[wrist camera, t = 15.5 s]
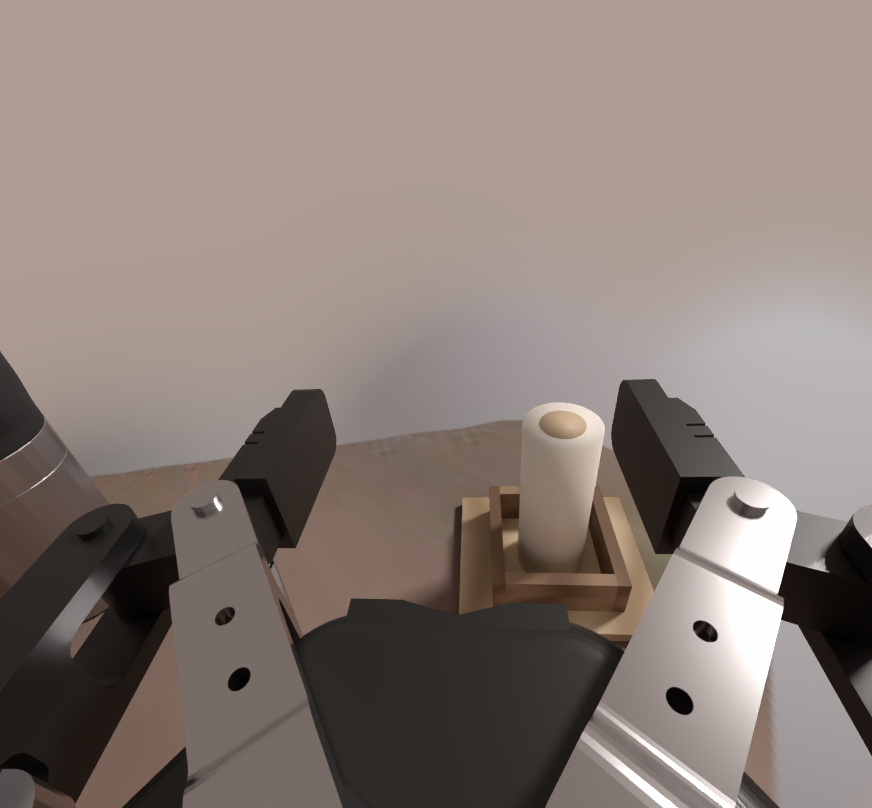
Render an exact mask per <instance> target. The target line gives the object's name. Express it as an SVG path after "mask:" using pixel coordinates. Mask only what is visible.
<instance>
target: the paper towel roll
mask: <svg viewBox="0 0 872 808" xmlns="http://www.w3.org/2000/svg"><path fill="white" fill-rule="evenodd" d="M604 432H605V428H604V424H603V422H602V420H601V419H600V418H599V417H598V416H597V415H596V414H595V413H594V412H592V411H590V410H588V409H586V408H584V407H582V406H578V405H575V404H570V403H547V404H542V405H539V406H537V407H534V408H533V409H531V410H530V411H529V412H528V413H527V414H526V415H525V416H524V418H523V422H522V450H521V477H520V504H519V532H518V560H519V563H520V565H521V567H522V568H523V570H524V571H525V572H526V573H579V571H580V568H581V563H582V558H583V552H584V546H585V541H586V535H587V529H588V523H589V518H590V512H591V506H592V501H593V495H594V489H595V484H596V478H597V472H598V466H599V461H600V455H601V449H602V444H603V438H604Z"/></svg>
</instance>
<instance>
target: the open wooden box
mask: <svg viewBox="0 0 872 808" xmlns="http://www.w3.org/2000/svg"><path fill="white" fill-rule="evenodd" d="M519 504H520V486H489V498H463V507H462V537H461V566H460V596H459V614H464V613H468V612H472V611H477V610H481V609H485V608H490V607H494V606H498V605H503V604H507V603H546V604H566V607H567V612H568V618H569V622H571V623H575V624H578V625H580V626H583V627H585V628H588V629H590V630H593V631H594V632H596V633H598V634H600V635H602V636H604V637H605V638H607V639H609V640H610V641H629V642H630V640H631V638H632V636H633V634H634V632H635V630H636V628H637V626H638V624H639V622H640V620H641V618H642V616H643V614H644V612H645V610H646V608H647V606H648V604H649V602H650V600H651V598H652V596H653V594H654V591H653V588H652V585H651V583H650V580H649V577H648V575H647V572H646V569H645V567H644V564H643V561H642V558H641V556H640V553H639V550H638V548H637V545H636V542H635V540H634V537H633V534H632V532H631V529H630V526H629V523H628V521H627V518H626V515H625V513H624V510H623V507H622V505H621V502H620V499H619V497H603V496H602V493H601V490H600V487H599V486H595V489H594V495H593V501H592V506H591V512H590V518H589V523H588V529H587V535H586V541H585V546H584V552H583V558H582V563H581V568H580V571H579V573H526V572H525V571H524V570H523V568H522V567H521V565H520V563H519V560H518V532H519Z"/></svg>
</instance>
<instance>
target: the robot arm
mask: <svg viewBox="0 0 872 808" xmlns="http://www.w3.org/2000/svg"><path fill="white" fill-rule="evenodd" d="M611 435H612V436H611V437H612V446H613V450H614V453H615V455H616V458H617V460H618V463H619V465H620V468H621V470H622V473H623V475H624V478H625V480H626V482H627V485H628V487H629V490H630V492H631V495H632V497H633V500H634V502H635V505H636V507H637V509H638V512H639V514H640V517H641V519H642V522H643V524H644V527H645V529H646V532H647V534H648V536H649V539H650V541H651V544H652V546H653V549H654V551H655V554H673V555H672V557H671V559H670V561H669V563H668V565H667V567H666V569H665V571H664V573H663V575H662V577H661V579H660V581H659V583H658V585H657V587H656V589H655V591H654V594H653V596H652V598H651V600H650V602H649V604H648V606H647V608H646V610H645V612H644V614H643V616H642V618H641V620H640V622H639V624H638V626H637V628H636V630H635V632H634V634H633V636H632V638H631V640H630V642H629V644H628V646H627V648H626V650H625V651H624V650H623V649H621V648H620V647H619V646H617V645H616V644H614V643H613V642H611V641H610V640H609V639H607V638H605V637H604V636H602V635H600V634H598V633H596V632H594V631H593V630H590V629H588V628H585V627H583V626H580V625H578V624H575V623H571V622H569V618H568V612H567V607H566V604H546V603H507V604H503V605H498V606H494V607H490V608H485V609H481V610H477V611H472V612H468V613H464V614H458V615H453V614H448V613H445V612H441V611H438V610H435V609H431V608H428V607H424V606H421V605H418V604H414V603H411V602H407V601H404V600H389V599H351V601H350V605H349V609H348V613H347V616H344V617H340V618H337V619H335V620H332V621H329V622H327V623H325V624H323V625H321V626H319V627H317V628H315V629H313V630H312V631H310V632H309V633H307V634H305V635H304V636H303V634H302V631H301V629H300V627H299V624H298V622H297V619H296V616H295V614H294V611H293V608H292V606H291V603H290V601H289V598H288V595H287V593H286V590H285V587H284V585H283V582H282V579H281V577H280V574H279V571H278V569H277V566H276V564H275V562H274V559H273V558H274V556H275V553H276V551H277V549H278V548H296V546H297V543H298V541H299V539H300V536H301V534H302V531H303V529H304V527H305V524H306V522H307V519H308V517H309V514H310V512H311V510H312V507H313V505H314V502H315V500H316V498H317V495H318V493H319V490H320V488H321V486H322V483H323V481H324V478H325V476H326V473H327V471H328V469H329V466H330V464H331V461H332V459H333V457H334V454H335V450H336V434H335V430H334V426H333V422H332V419H331V415H330V412H329V408H328V405H327V401H326V397H325V394H324V393H323V391H322V390H321V389H308V390H307V389H306V390H293V391H292V392H291V393H290V395H289V396H288V398H287V399H286V401H285V402H284V404H283V405H282V407H281V408H275V409H274V410H273V411H271V412H270V413H268V414H267V415H266V416H265V417H263V418H262V419H261V420H260V421H259V423H258V424H257V426H256V427H255V428H254V430H253V431H252V434H250V436H249V437H248V439H247V440H246V441H245V445H243V446H242V447H241V448H240V450H239V451H238V453H237V454H236V456H235V457H234V458H233V460H232V461H231V463H230V464H229V465H228V467H227V468H226V470H225V471H224V473H223V474H222V475H221V477H220V478H219V480H217V481H211V482H207V483H205V484H202V485H200V486H198V487H196V488H194V489H192V490H190V491H189V492H188V493H186V494H185V495H184V496H183V497H181V498H180V499H179V501H178V502H177V503H176V504H175V506H174V508H173V510H172V511H167V512H163V513H159V514H155V515H151V516H147V517H143V518H139V519H138V517H137V516H136V514H135V513H134V512H133V510H132V509H131V508H130V507H129V506H127V505H125V504H110V503H109V502H108V501H107V499H106V498H105V497H104V495H103V494H102V493H101V491H100V490H99V489H98V487H97V486H96V485H95V483H94V482H93V481H92V479H91V478H90V477H89V475H88V474H87V473H86V471H85V470H84V469H83V467H82V466H81V465H80V463H79V462H78V461H77V459H76V458H75V457H74V455H73V454H72V453H71V451H70V450H69V449H68V447H67V446H66V445H65V444H64V442H63V441H62V440H61V438H60V437H59V436H58V434H57V433H56V432H55V431H54V429H53V428H52V426H51V425H50V424H49V422H48V421H47V420H46V418H45V417H44V416H43V414H42V413H41V412H40V410H39V409H38V408H37V406H36V405H35V404H34V402H33V401H32V399H31V398H30V396H29V394H28V393H27V391H26V389H25V387H24V386H23V384H22V382H21V381H20V379H19V378H18V376H17V374H16V373H15V371H14V370H13V369H12V367H11V366H10V364H9V363H8V362H7V360H6V359H5V358H4V356H3V355H2V353H1V352H0V587H1V588H2V589H3V590H4V591H5V592H7V593H6V594H5V595H4V596H3V597H2V598H1V599H0V808H76V806H75V803H76V802H77V800H78V798H79V796H80V794H81V792H82V790H83V789H84V787H85V785H86V783H87V781H88V779H89V777H90V775H91V774H92V772H93V770H94V768H95V766H96V764H97V762H98V761H99V759H100V757H101V755H102V753H103V751H104V749H105V748H106V746H107V744H108V742H109V740H110V738H111V736H112V735H113V733H114V731H115V729H116V727H117V725H118V723H119V721H120V720H121V718H122V716H123V714H124V712H125V710H126V708H127V707H128V705H129V703H130V701H131V699H132V697H133V695H134V694H135V692H136V690H137V688H138V686H139V684H140V682H141V681H142V679H143V677H144V675H145V673H146V671H147V669H148V668H149V666H150V664H151V662H152V660H153V658H154V656H155V654H156V653H157V651H158V649H159V647H160V645H161V643H162V641H163V640H164V638H165V636H166V634H167V632H168V630H169V628H170V627H171V625H172V626H173V635H174V644H175V653H176V662H177V671H178V681H179V690H180V699H181V708H182V717H183V726H184V735H185V744H186V747H185V748H183V749H182V750H181V751H180V752H179V753H178V754H177V755H176V756H175V757H174V758H173V759H172V760H171V761H170V762H169V763H168V764H167V765H166V766H165V767H164V768H163V769H162V770H161V771H160V772H158V773H157V774H156V775H155V776H154V777H153V778H152V779H151V780H150V781H149V782H148V783H147V784H146V785H145V786H144V787H143V788H142V789H141V790H140V791H139V792H138V793H137V794H136V795H134V796H133V797H132V798H131V799H130V800H129V801H128V802H127V803H126V804H125V805H124V806H123V807H122V808H779V807H778V806H777V805H776V803H775V802H774V801H773V800H772V799H771V798H770V797H769V796H768V795H767V794H766V793H765V792H764V791H763V790H762V789H761V788H760V787H759V786H758V785H757V784H756V783H755V782H754V781H753V780H752V779H751V778H750V777H749V776H748V775H747V774H746V773H745V772H744V768H745V764H746V760H747V756H748V752H749V747H750V743H751V739H752V735H753V731H754V727H755V723H756V719H757V714H758V710H759V706H760V702H761V698H762V694H763V690H764V686H765V681H766V677H767V673H768V669H769V665H770V661H771V657H772V652H773V648H774V644H775V640H776V636H777V632H778V628H779V623H780V620H784V621H787V622H790V623H794V624H797V625H798V626H799V628H800V629H801V631H802V633H803V635H804V636H805V638H806V640H807V642H808V644H809V645H810V647H811V649H812V651H813V652H814V654H815V656H816V658H817V660H818V661H819V663H820V665H821V667H822V668H823V670H824V672H825V674H826V676H827V677H828V679H829V681H830V683H831V684H832V686H833V688H834V690H835V692H836V693H837V695H838V697H839V698H840V700H841V702H842V704H843V706H844V707H845V709H846V711H847V713H848V715H849V716H850V718H851V720H852V722H853V723H854V725H855V727H856V729H857V730H858V732H859V734H860V736H861V738H862V739H863V741H864V743H865V745H866V746H867V748H868V750H869V752H870V754H871V755H872V505H869V506H864V507H862V508H859V509H858V510H856V512H855V513H854V514H853V516H852V517H851V519H850V520H849V522H845V521H841V520H836V519H832V518H827V517H822V516H817V515H812V514H808V513H804V512H800V511H796V510H795V508H794V507H793V505H792V504H791V502H790V501H789V500H788V499H787V498H786V497H785V496H783V495H782V494H781V493H780V492H778V491H777V490H775V489H774V488H772V487H770V486H768V485H766V484H764V483H761V482H759V481H756V480H752V479H749V478H745V476H744V475H743V474H742V472H741V471H740V470H739V469H738V467H737V465H736V464H735V463H734V461H733V460H732V459H731V457H730V456H729V455H728V453H727V452H726V451H725V450H724V448H723V447H722V445H721V444H720V442H719V441H718V440H717V438H714V434H713V433H712V432H711V430H710V429H709V428H708V426H705V422H704V421H703V420H702V418H701V417H700V415H699V414H698V413H697V411H696V410H695V409H694V408H692V407H691V406H689V405H687V404H686V403H684V402H683V401H681V400H680V399H679V398H668V397H667V395H666V394H665V392H664V391H663V389H662V388H661V386H660V385H659V383H658V382H657V381H656V380H655V379H645V380H623V381H622V382H621V384H620V387H619V393H618V397H617V404H616V408H615V413H614V419H613V424H612V432H611ZM106 609H107V610H106ZM104 610H106V611H105V613H104V614H103V616H102V617H101V619H100V620H99V621H98V623H97V624H96V626H95V627H94V629H93V630H92V632H91V633H90V635H89V636H88V638H87V639H86V640H85V642H84V643H83V645H82V646H81V648H80V649H79V651H78V652H77V654H76V655H75V656H74V658H73V659H72V658H71V655H70V646H71V642H72V639H73V636H74V634H75V633H76V631H77V630H78V628H79V627H80V625H81V624H82V623H83V621H85V620H87V619H89V618H92V617H94V616H96V615H97V614H99V613H101V612H102V611H104Z"/></svg>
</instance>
